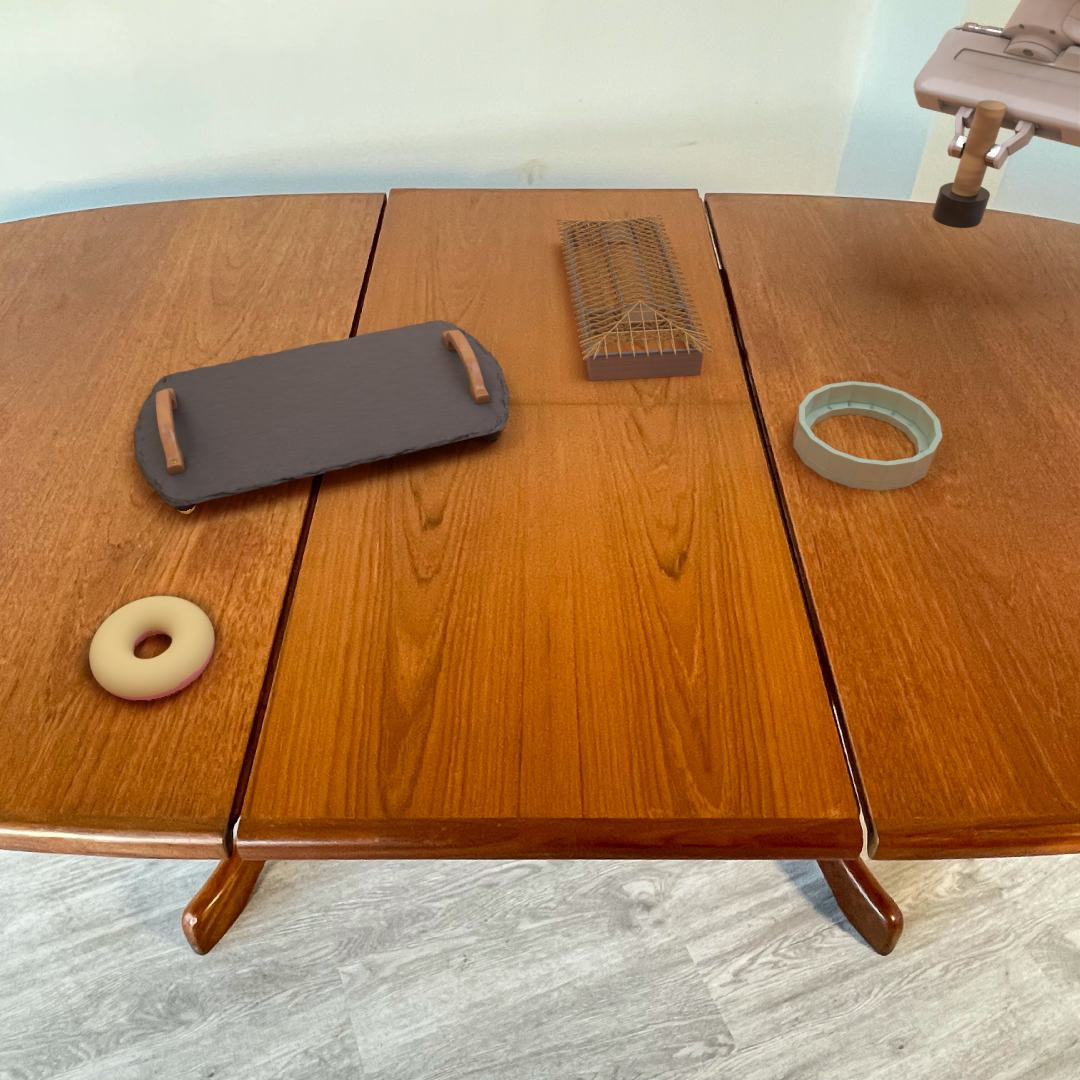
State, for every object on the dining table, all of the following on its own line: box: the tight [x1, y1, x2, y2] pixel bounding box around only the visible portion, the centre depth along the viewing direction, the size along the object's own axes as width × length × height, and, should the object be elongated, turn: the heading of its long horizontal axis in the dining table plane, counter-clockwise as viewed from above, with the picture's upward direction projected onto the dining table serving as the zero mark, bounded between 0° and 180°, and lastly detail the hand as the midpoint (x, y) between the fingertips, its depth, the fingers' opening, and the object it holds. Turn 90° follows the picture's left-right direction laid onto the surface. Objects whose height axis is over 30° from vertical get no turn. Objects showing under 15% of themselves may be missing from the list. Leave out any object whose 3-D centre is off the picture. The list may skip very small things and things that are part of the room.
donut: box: [88, 595, 216, 701], centre depth 71 cm, size 10×5×9 cm
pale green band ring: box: [792, 380, 943, 492], centre depth 86 cm, size 13×13×5 cm
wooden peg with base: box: [931, 100, 1007, 229], centre depth 94 cm, size 5×5×12 cm
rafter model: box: [555, 213, 714, 382], centre depth 109 cm, size 35×14×6 cm, turn 4°
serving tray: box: [133, 319, 511, 512], centre depth 92 cm, size 39×23×6 cm, turn 110°
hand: (972, 160), depth 94 cm, fingers closed on wooden peg with base, 3 cm apart
